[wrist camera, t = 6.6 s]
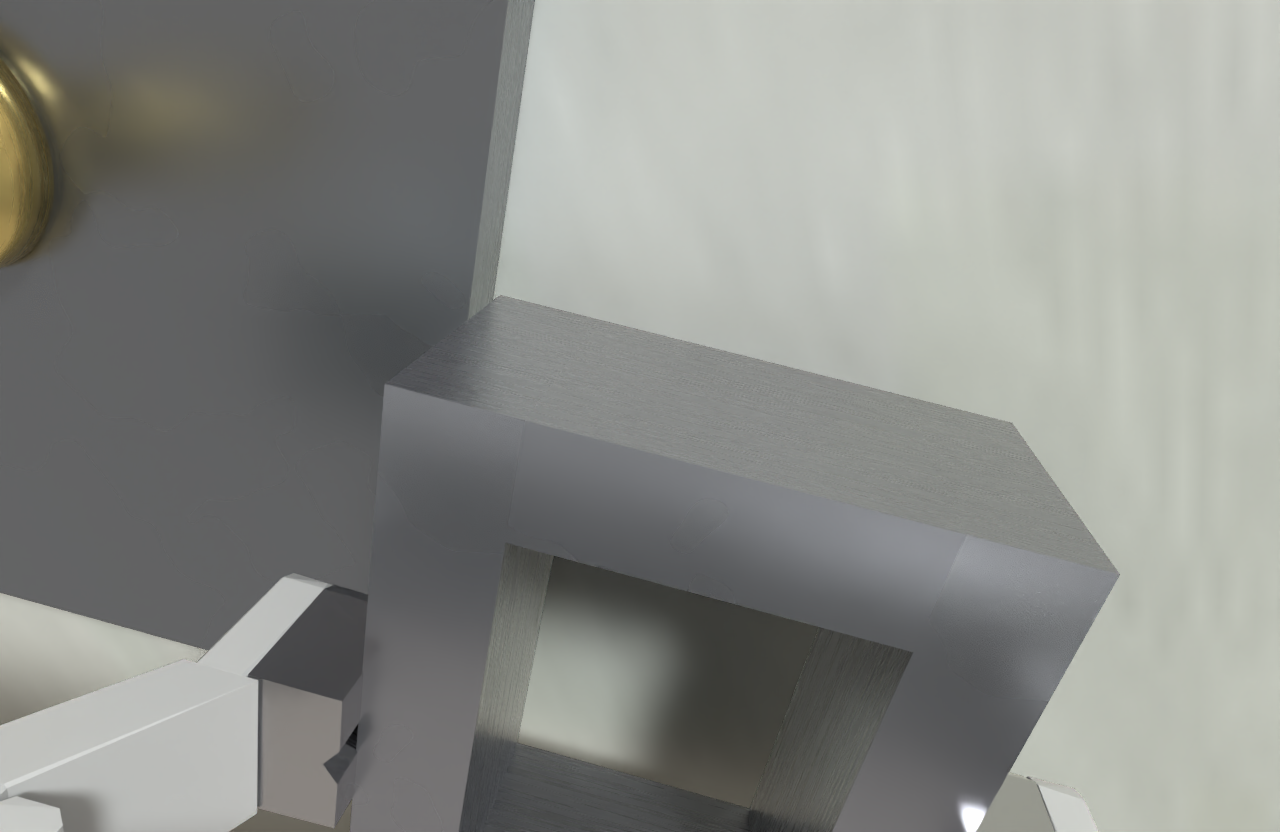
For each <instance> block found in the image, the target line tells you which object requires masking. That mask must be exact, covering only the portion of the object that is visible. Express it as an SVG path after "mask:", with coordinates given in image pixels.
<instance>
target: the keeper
mask: <svg viewBox="0 0 1280 832" xmlns="http://www.w3.org/2000/svg"><path fill="white" fill-rule="evenodd" d="M534 2H535V0H0V593H4V594H7V595H11V596H14V597H18V598H22V599H25V600H29V601H32V602H36V603H40V604H43V605H47V606H50V607H54V608H58V609H61V610H65V611H68V612H72V613H76V614H79V615H83V616H87V617H90V618H94V619H97V620H101V621H105V622H108V623H112V624H115V625H119V626H123V627H126V628H130V629H133V630H137V631H141V632H144V633H148V634H151V635H155V636H159V637H162V638H166V639H169V640H173V641H177V642H180V643H184V644H187V645H191V646H195V647H198V648H202V649H205V650H209V649H210V648H211V647H212V646H213V645H214V644H215V643H216V642H217V641H218V640H219V639H220V638H221V637H222V636H223V635H224V634H225V633H226V632H227V631H228V630H229V629H231V628H232V627H233V626H234V625H235V624H236V623H237V622H238V621H239V620H240V619H241V618H242V617H243V616H244V615H245V614H246V613H247V612H248V611H249V610H250V609H251V608H252V607H253V606H254V605H255V604H256V603H257V602H258V601H259V600H260V599H261V598H262V597H263V596H264V595H265V594H266V593H267V592H268V591H269V590H270V589H271V588H272V587H273V586H274V585H275V584H276V583H277V582H278V581H279V580H280V579H281V578H283V577H285V576H288V575H290V574H293V573H295V574H299V575H302V576H305V577H309V578H312V579H315V580H318V581H322V582H325V583H328V584H331V585H334V584H335V585H338V586H341V587H345V588H348V589H351V590H355V591H358V592H361V593H364V594H368V591H369V578H370V565H371V552H372V540H373V527H374V514H375V501H376V488H377V475H378V462H379V450H380V437H381V424H382V411H383V398H384V385H385V383H387V382H388V381H389V380H390V379H392V378H393V377H394V376H396V375H397V374H398V373H400V372H401V371H402V370H403V369H405V368H406V367H407V366H409V365H410V364H411V363H413V362H414V361H415V360H416V359H418V358H419V357H420V356H422V355H423V354H424V353H426V352H427V351H428V350H429V349H431V348H432V347H433V346H435V345H436V344H437V343H439V342H440V341H441V340H442V339H444V338H445V337H446V336H448V335H449V334H450V333H452V332H453V331H454V330H456V329H457V328H458V327H459V326H461V325H462V324H463V323H465V322H466V321H467V320H469V319H470V318H471V317H472V316H474V315H475V314H476V313H478V312H479V311H480V310H482V309H483V308H484V307H485V306H487V305H488V304H489V303H491V302H492V301H493V295H494V288H495V281H496V274H497V267H498V260H499V253H500V245H501V238H502V231H503V224H504V217H505V210H506V203H507V195H508V188H509V181H510V174H511V167H512V160H513V152H514V145H515V138H516V131H517V124H518V117H519V110H520V102H521V95H522V88H523V81H524V74H525V67H526V60H527V52H528V45H529V38H530V31H531V24H532V17H533V9H534Z"/></svg>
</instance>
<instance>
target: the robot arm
mask: <svg viewBox="0 0 1280 832" xmlns="http://www.w3.org/2000/svg"><path fill="white" fill-rule="evenodd" d="M367 604H368V594H364V593H361V592H358V591H355V590H351V589H348V588H345V587H341V586H338V585H335V584H334V585H331V584H328V583H325V582H322V581H318V580H315V579H312V578H309V577H305V576H302V575H299V574H295V573H293V574H290V575H288V576H285V577H283V578H281V579H280V580H279V581H278V582H277V583H276V584H275V585H274V586H273V587H272V588H271V589H270V590H269V591H268V592H267V593H266V594H265V595H264V596H263V597H262V598H261V599H260V600H259V601H258V602H257V603H256V604H255V605H254V606H253V607H252V608H251V609H250V610H249V611H248V612H247V613H246V614H245V615H244V616H243V617H242V618H241V619H240V620H239V621H238V622H237V623H236V624H235V625H234V626H233V627H232V628H231V629H229V630H228V631H227V632H226V633H225V634H224V635H223V636H222V637H221V638H220V639H219V640H218V641H217V642H216V643H215V644H214V645H213V646H212V647H211V648H210V649H209V650H208V651H207V652H206V653H205V654H204V655H203V656H202V657H201V658H200V659H199V660H198V661H197V662H193V661H189V660H185V659H182V660H179V661H177V662H174V663H171V664H168V665H166V666H163V667H160V668H157V669H155V670H152V671H149V672H146V673H143V674H141V675H138V676H135V677H132V678H130V679H127V680H124V681H121V682H119V683H116V684H113V685H110V686H107V687H105V688H102V689H99V690H96V691H94V692H91V693H88V694H85V695H83V696H80V697H77V698H74V699H72V700H69V701H66V702H63V703H60V704H58V705H55V706H52V707H49V708H47V709H44V710H41V711H38V712H36V713H33V714H30V715H27V716H24V717H22V718H19V719H16V720H13V721H11V722H8V723H5V724H2V725H0V832H229V831H231V830H232V829H234V828H235V827H237V826H239V825H240V824H242V823H243V822H245V821H246V820H248V819H249V818H251V817H252V816H254V815H256V814H257V808H258V809H262V810H266V811H270V812H274V813H277V814H281V815H285V816H289V817H293V818H296V819H300V820H304V821H308V822H312V823H315V824H319V825H323V826H327V827H331V828H335V826H336V825H337V823H338V821H339V820H340V818H341V816H342V815H343V813H344V811H345V810H346V808H347V806H348V804H349V803H350V801H351V799H352V798H353V796H354V788H355V777H356V765H357V754H358V752H357V751H356V745H357V732H358V723H359V721H360V715H361V701H362V687H363V671H362V668H363V655H364V642H365V630H366V617H367ZM976 832H1099V831H1098V828H1097V826H1096V824H1095V822H1094V819H1093V817H1092V815H1091V813H1090V810H1089V808H1088V806H1087V804H1086V801H1085V800H1084V798H1083V797H1082V796H1081V795H1080V794H1079V793H1078V791H1077V790H1076V789H1075V788H1071V787H1067V786H1064V785H1060V784H1056V783H1052V782H1048V781H1044V780H1040V779H1036V778H1032V777H1029V776H1028V777H1024V776H1022V775H1018V774H1014V773H1011V772H1009V773H1008V775H1007V777H1006V778H1005V780H1004V782H1003V784H1002V785H1001V787H1000V789H999V791H998V793H997V794H996V796H995V798H994V800H993V801H992V803H991V805H990V807H989V809H988V810H987V812H986V814H985V816H984V817H983V819H982V821H981V823H980V825H979V826H978V828H977V830H976Z"/></svg>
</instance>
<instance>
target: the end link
mask: <svg viewBox="0 0 1280 832" xmlns="http://www.w3.org/2000/svg"><path fill="white" fill-rule="evenodd" d="M554 556H557V557H561V558H564V559H568V560H572V561H576V562H579V563H583V564H587V565H590V566H594V567H598V568H602V569H605V570H609V571H613V572H616V573H620V574H624V575H628V576H631V577H635V578H639V579H643V580H646V581H650V582H654V583H657V584H661V585H665V586H669V587H672V588H676V589H680V590H683V591H687V592H691V593H695V594H698V595H702V596H706V597H709V598H713V599H717V600H721V601H724V602H728V603H732V604H735V605H739V606H743V607H747V608H750V609H754V610H758V611H761V612H765V613H769V614H773V615H776V616H780V617H784V618H787V619H791V620H795V621H799V622H802V623H806V624H810V625H814V626H817V627H819V628H818V630H817V633H816V636H815V638H814V641H813V643H812V646H811V649H810V651H809V654H808V657H807V659H806V662H805V664H804V667H803V670H802V672H801V675H800V678H799V680H798V683H797V686H796V688H795V691H794V693H793V696H792V699H791V701H790V704H789V707H788V709H787V712H786V714H785V717H784V720H783V722H782V725H781V728H780V730H779V733H778V736H777V738H776V741H775V743H774V746H773V749H772V751H771V754H770V757H769V759H768V762H767V764H766V767H765V770H764V772H763V775H762V778H761V780H760V783H759V785H758V788H757V791H756V793H755V796H754V799H753V801H752V804H751V807H750V809H749V808H745V807H742V806H738V805H735V804H731V803H728V802H724V801H721V800H717V799H714V798H710V797H707V796H703V795H700V794H696V793H693V792H689V791H686V790H682V789H679V788H675V787H672V786H668V785H665V784H661V783H658V782H654V781H651V780H647V779H644V778H640V777H636V776H633V775H629V774H626V773H622V772H619V771H615V770H612V769H608V768H605V767H601V766H598V765H594V764H591V763H587V762H584V761H580V760H577V759H573V758H570V757H566V756H563V755H559V754H556V753H552V752H549V751H545V750H542V749H538V748H534V747H531V746H527V745H524V744H520V743H517V742H518V737H519V732H520V727H521V722H522V716H523V711H524V706H525V701H526V696H527V691H528V686H529V680H530V675H531V670H532V665H533V660H534V655H535V649H536V644H537V639H538V634H539V629H540V624H541V619H542V613H543V608H544V603H545V598H546V593H547V588H548V582H549V577H550V572H551V567H552V562H553V557H554ZM1119 575H1120V574H1119V573H1118V571H1117V570H1116V568H1115V567H1114V566H1113V564H1112V563H1111V561H1110V560H1109V559H1108V557H1107V556H1106V554H1105V553H1104V551H1103V550H1102V549H1101V547H1100V546H1099V544H1098V543H1097V542H1096V540H1095V539H1094V537H1093V536H1092V535H1091V533H1090V532H1089V530H1088V529H1087V528H1086V526H1085V525H1084V523H1083V522H1082V521H1081V519H1080V518H1079V516H1078V515H1077V514H1076V512H1075V511H1074V509H1073V508H1072V507H1071V505H1070V504H1069V502H1068V501H1067V500H1066V498H1065V497H1064V495H1063V494H1062V492H1061V491H1060V490H1059V488H1058V487H1057V485H1056V484H1055V483H1054V481H1053V480H1052V478H1051V477H1050V476H1049V474H1048V473H1047V471H1046V470H1045V469H1044V467H1043V466H1042V464H1041V463H1040V462H1039V460H1038V459H1037V457H1036V456H1035V455H1034V453H1033V452H1032V450H1031V449H1030V448H1029V446H1028V445H1027V443H1026V442H1025V441H1024V439H1023V438H1022V436H1021V435H1020V433H1019V432H1018V431H1017V429H1016V428H1015V426H1014V425H1013V424H1012V423H1010V422H1006V421H1002V420H998V419H994V418H990V417H986V416H982V415H978V414H974V413H970V412H966V411H962V410H958V409H954V408H950V407H946V406H942V405H938V404H934V403H930V402H926V401H922V400H918V399H914V398H910V397H906V396H902V395H898V394H894V393H890V392H886V391H882V390H878V389H874V388H870V387H866V386H862V385H858V384H854V383H850V382H846V381H842V380H838V379H834V378H830V377H826V376H822V375H818V374H814V373H810V372H806V371H802V370H798V369H794V368H790V367H786V366H782V365H778V364H774V363H770V362H766V361H762V360H758V359H754V358H750V357H746V356H742V355H738V354H734V353H730V352H726V351H722V350H718V349H714V348H710V347H706V346H702V345H698V344H694V343H690V342H686V341H682V340H678V339H674V338H670V337H666V336H662V335H658V334H654V333H650V332H646V331H642V330H638V329H634V328H630V327H626V326H622V325H618V324H614V323H610V322H606V321H602V320H598V319H594V318H590V317H586V316H582V315H578V314H574V313H570V312H566V311H562V310H558V309H554V308H550V307H546V306H542V305H538V304H534V303H530V302H526V301H522V300H518V299H514V298H510V297H506V296H502V295H500V296H498V297H497V298H496V299H495V300H493V301H492V302H491V303H489V304H488V305H487V306H485V307H484V308H483V309H482V310H480V311H479V312H478V313H476V314H475V315H474V316H472V317H471V318H470V319H469V320H467V321H466V322H465V323H463V324H462V325H461V326H459V327H458V328H457V329H456V330H454V331H453V332H452V333H450V334H449V335H448V336H446V337H445V338H444V339H442V340H441V341H440V342H439V343H437V344H436V345H435V346H433V347H432V348H431V349H429V350H428V351H427V352H426V353H424V354H423V355H422V356H420V357H419V358H418V359H416V360H415V361H414V362H413V363H411V364H410V365H409V366H407V367H406V368H405V369H403V370H402V371H401V372H400V373H398V374H397V375H396V376H394V377H393V378H392V379H390V380H389V381H388V382H387V383H385V385H384V398H383V411H382V424H381V437H380V450H379V462H378V475H377V488H376V501H375V514H374V527H373V540H372V552H371V565H370V578H369V591H368V604H367V617H366V630H365V642H364V655H363V668H362V671H363V687H362V701H361V715H360V721H359V723H358V732H357V745H356V751H357V752H358V754H357V765H356V777H355V788H354V796H353V798H352V810H351V822H350V832H976V830H977V828H978V826H979V825H980V823H981V821H982V819H983V817H984V816H985V814H986V812H987V810H988V809H989V807H990V805H991V803H992V801H993V800H994V798H995V796H996V794H997V793H998V791H999V789H1000V787H1001V785H1002V784H1003V782H1004V780H1005V778H1006V777H1007V775H1008V773H1009V771H1010V769H1011V768H1012V766H1013V764H1014V762H1015V760H1016V759H1017V757H1018V755H1019V753H1020V752H1021V750H1022V748H1023V746H1024V744H1025V743H1026V741H1027V739H1028V737H1029V736H1030V734H1031V732H1032V730H1033V728H1034V727H1035V725H1036V723H1037V721H1038V720H1039V718H1040V716H1041V714H1042V712H1043V711H1044V709H1045V707H1046V705H1047V703H1048V702H1049V700H1050V698H1051V696H1052V695H1053V693H1054V691H1055V689H1056V687H1057V686H1058V684H1059V682H1060V680H1061V679H1062V677H1063V675H1064V673H1065V671H1066V670H1067V668H1068V666H1069V664H1070V663H1071V661H1072V659H1073V657H1074V655H1075V654H1076V652H1077V650H1078V648H1079V647H1080V645H1081V643H1082V641H1083V639H1084V638H1085V636H1086V634H1087V632H1088V630H1089V629H1090V627H1091V625H1092V623H1093V622H1094V620H1095V618H1096V616H1097V614H1098V613H1099V611H1100V609H1101V607H1102V606H1103V604H1104V602H1105V600H1106V598H1107V597H1108V595H1109V593H1110V591H1111V590H1112V588H1113V586H1114V584H1115V582H1116V581H1117V579H1118V577H1119Z"/></svg>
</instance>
